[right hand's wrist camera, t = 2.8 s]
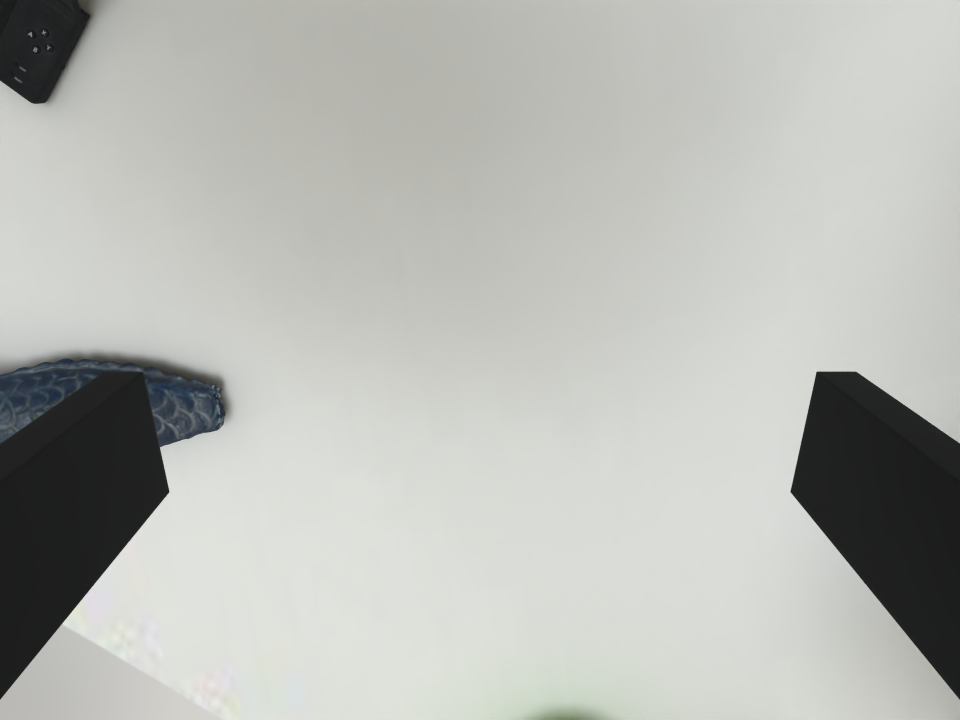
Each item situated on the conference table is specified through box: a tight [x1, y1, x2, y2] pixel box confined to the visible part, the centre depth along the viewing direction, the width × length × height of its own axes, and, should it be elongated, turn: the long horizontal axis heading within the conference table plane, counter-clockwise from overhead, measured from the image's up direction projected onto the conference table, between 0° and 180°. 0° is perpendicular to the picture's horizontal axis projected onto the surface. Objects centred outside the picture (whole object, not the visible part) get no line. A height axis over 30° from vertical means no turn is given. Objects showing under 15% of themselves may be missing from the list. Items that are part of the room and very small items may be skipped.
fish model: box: [0, 359, 225, 447], centre depth 41 cm, size 7×21×5 cm, turn 92°
